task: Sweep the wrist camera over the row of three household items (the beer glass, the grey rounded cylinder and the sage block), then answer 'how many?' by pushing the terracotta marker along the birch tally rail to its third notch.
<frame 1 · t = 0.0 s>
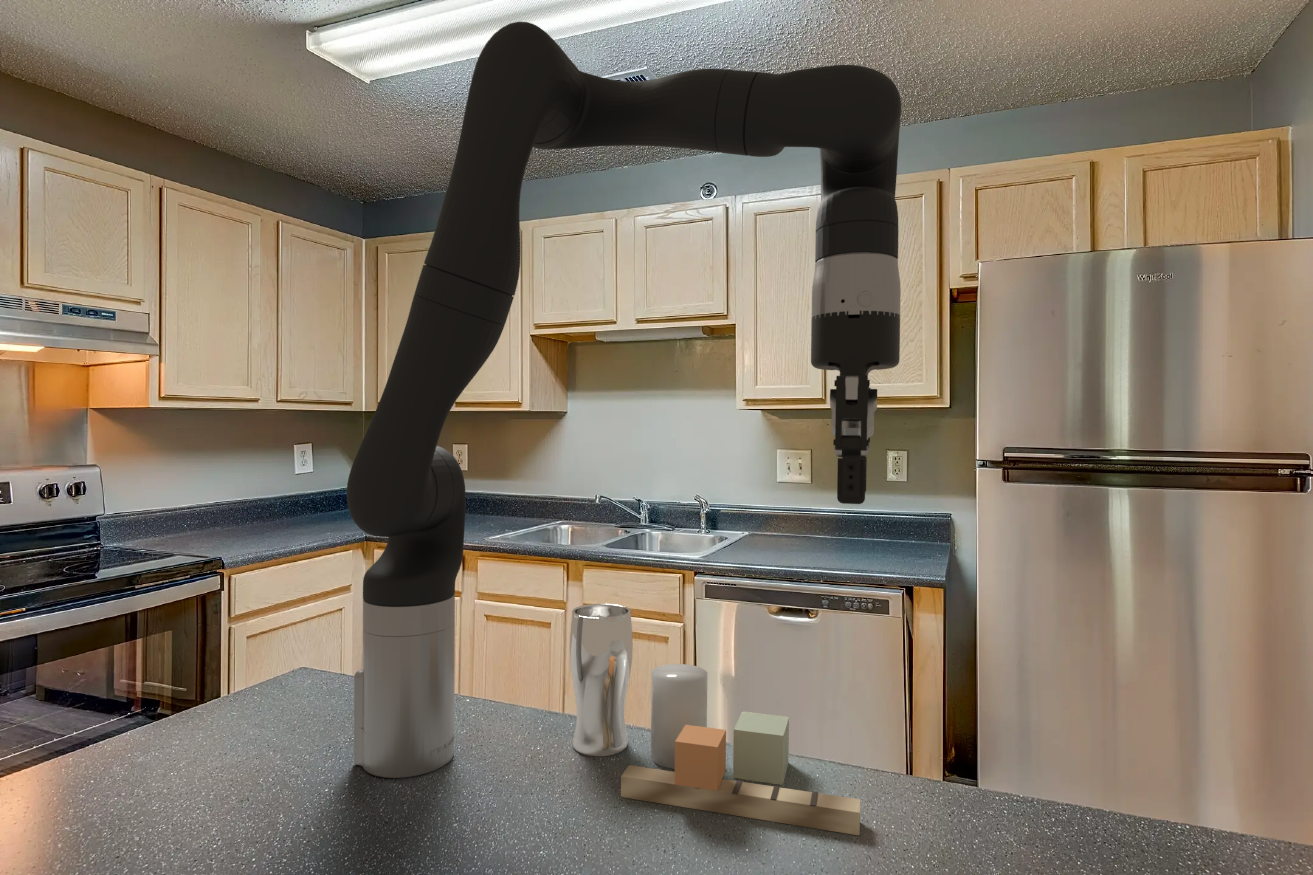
hand: (852, 498, 65), 29 cm above the countertop, fingers open, 8 cm apart
sage block: (761, 770, 76), on the countertop
tally rail: (737, 808, 69), on the countertop
grey rounded cylinder: (678, 755, 79), on the countertop
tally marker: (700, 756, 69), point 4 cm above the countertop, slide at 0.0 cm
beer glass: (600, 746, 82), on the countertop
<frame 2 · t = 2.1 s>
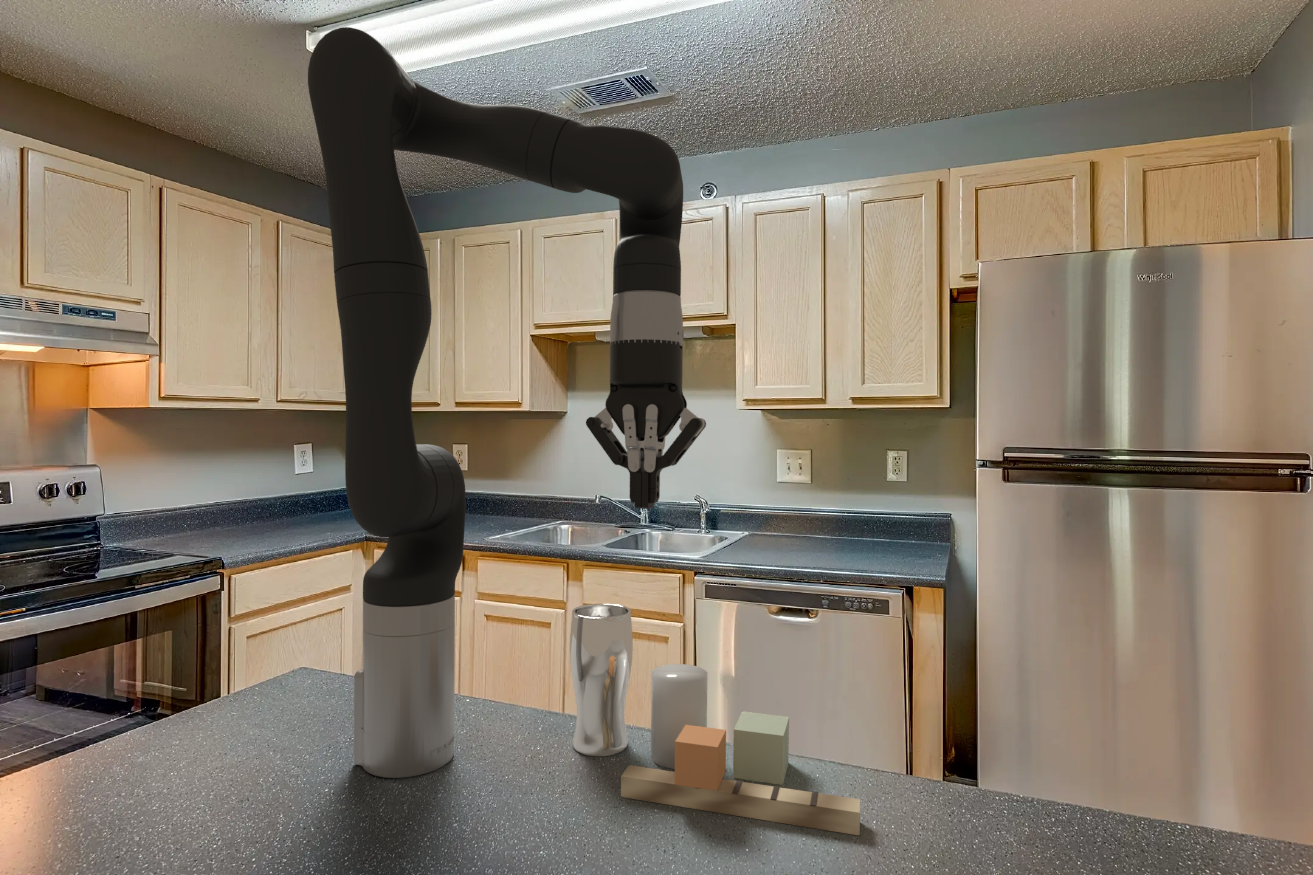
hand: (644, 507, 77), 27 cm above the countertop, fingers closed
nothing on the countertop moved.
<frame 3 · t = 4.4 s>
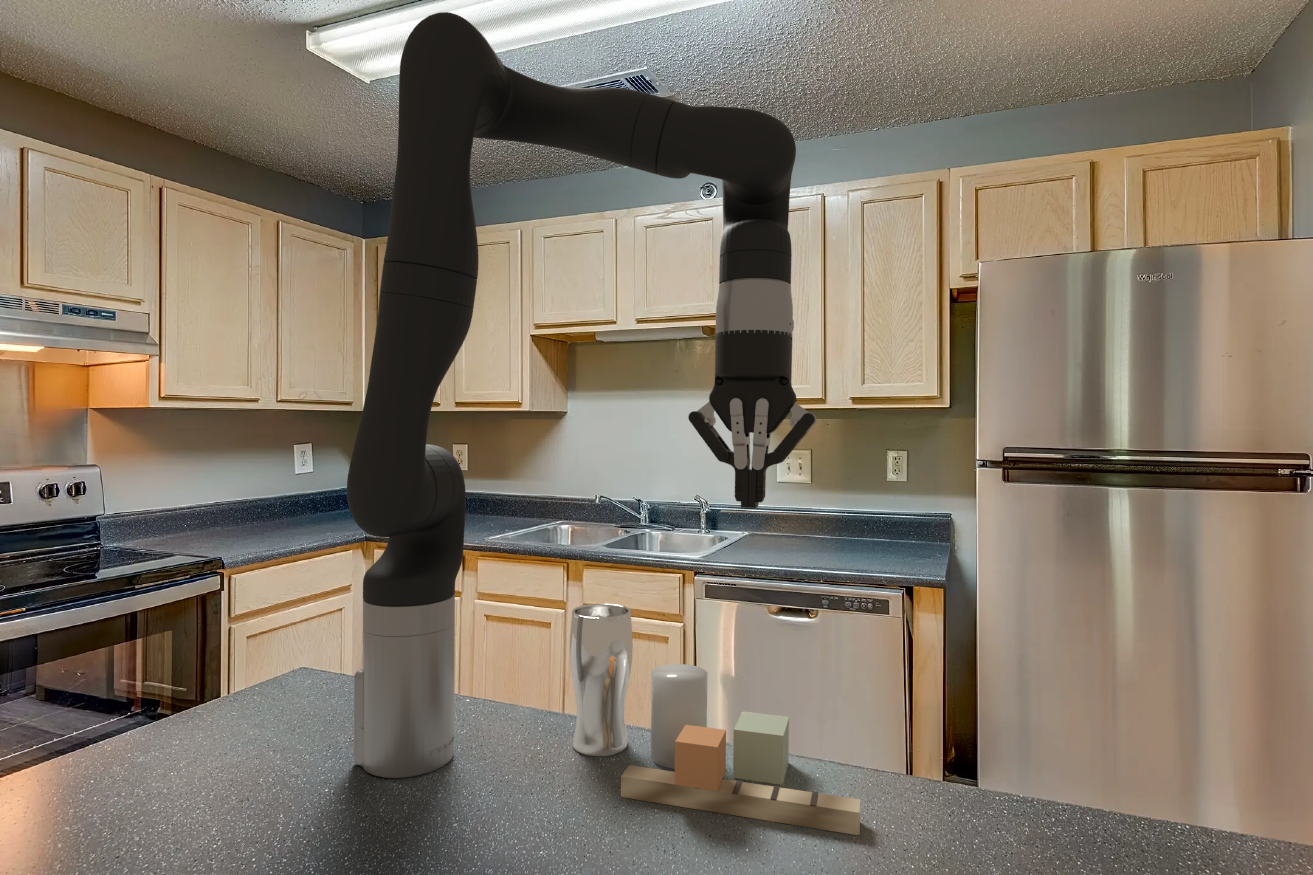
hand: (750, 507, 73), 28 cm above the countertop, fingers closed
nothing on the countertop moved.
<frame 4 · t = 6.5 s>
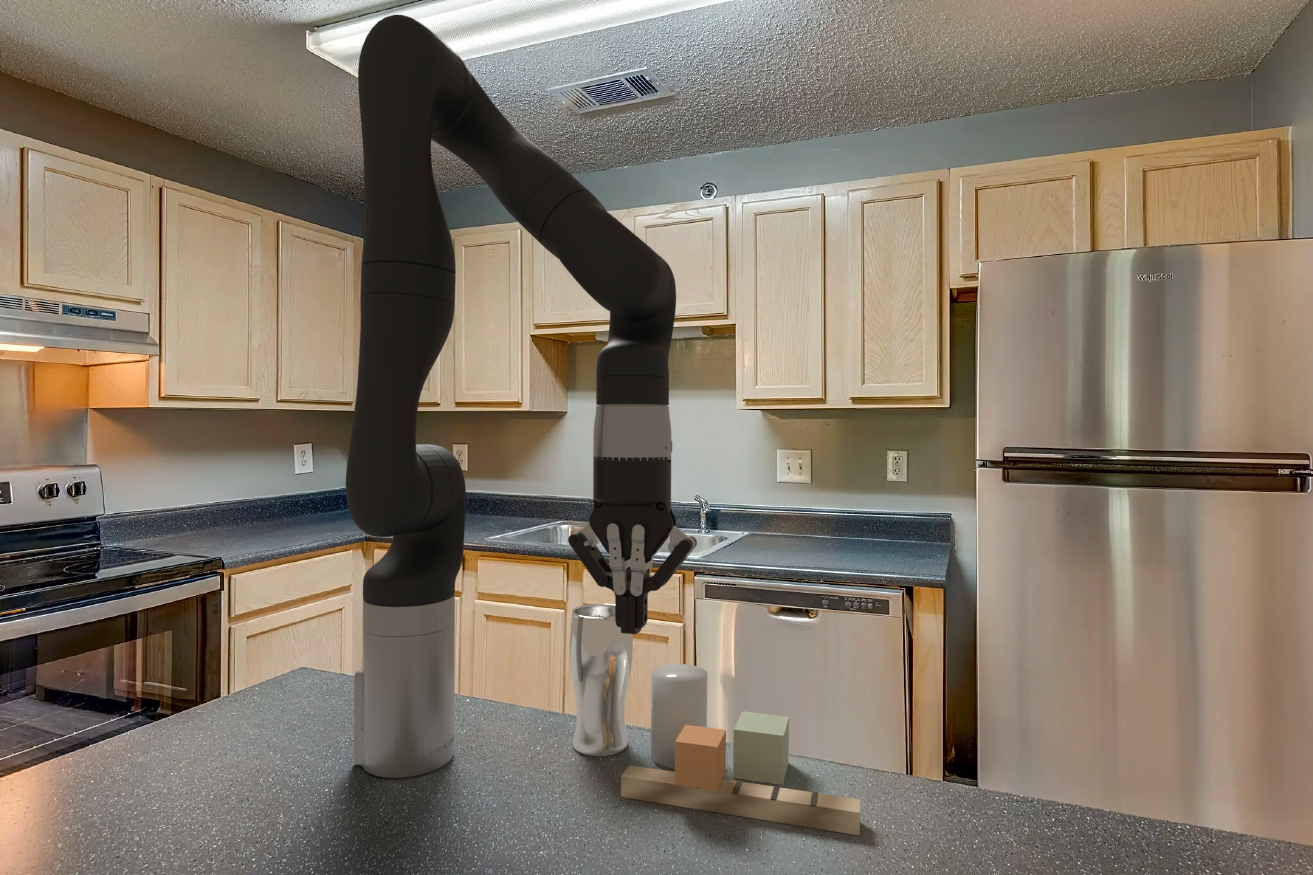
hand: (631, 631, 71), 16 cm above the countertop, fingers closed
nothing on the countertop moved.
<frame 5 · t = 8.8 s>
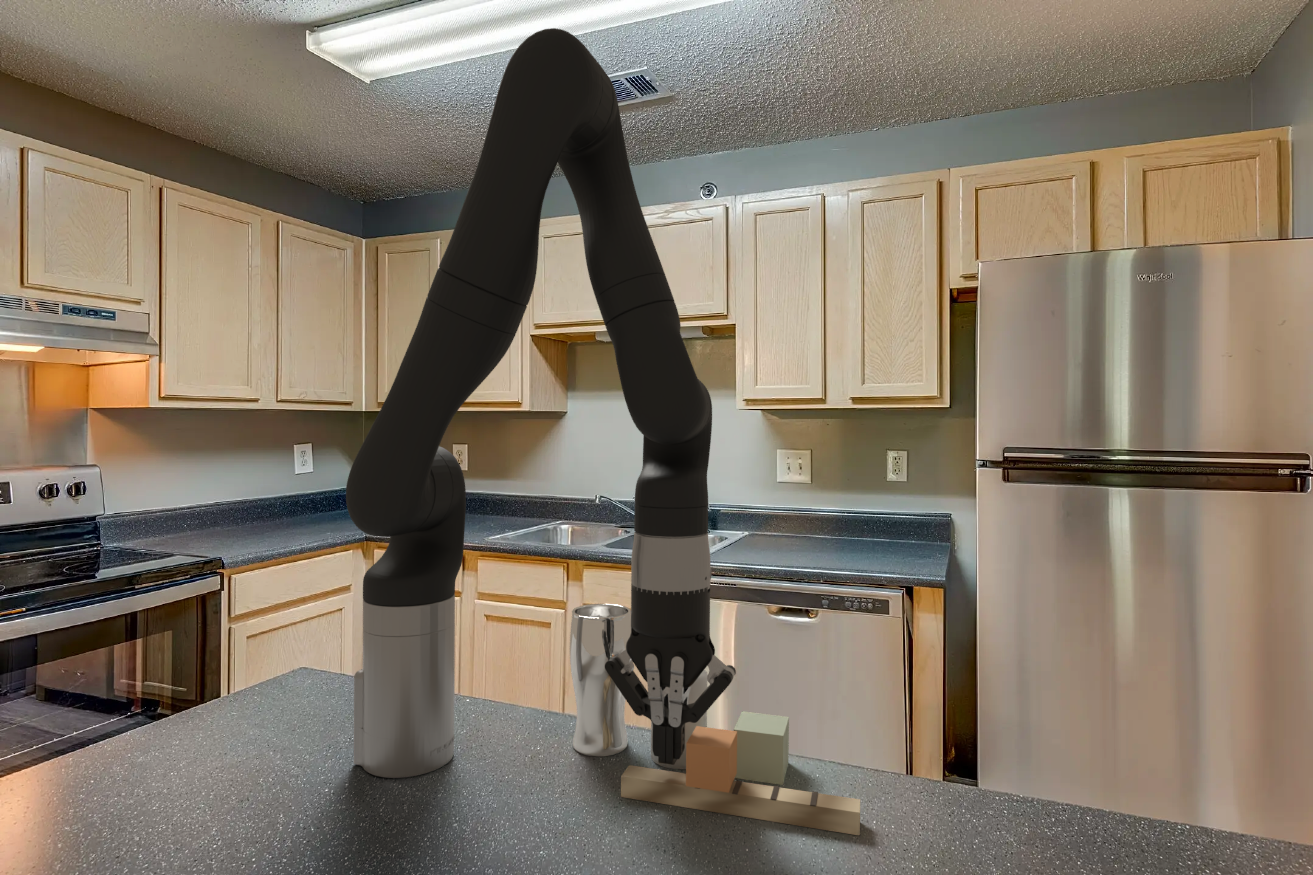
hand: (668, 760, 70), 4 cm above the countertop, fingers closed
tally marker: (712, 758, 69), point 4 cm above the countertop, slide at 1.1 cm, touching gripper
everything else where it was.
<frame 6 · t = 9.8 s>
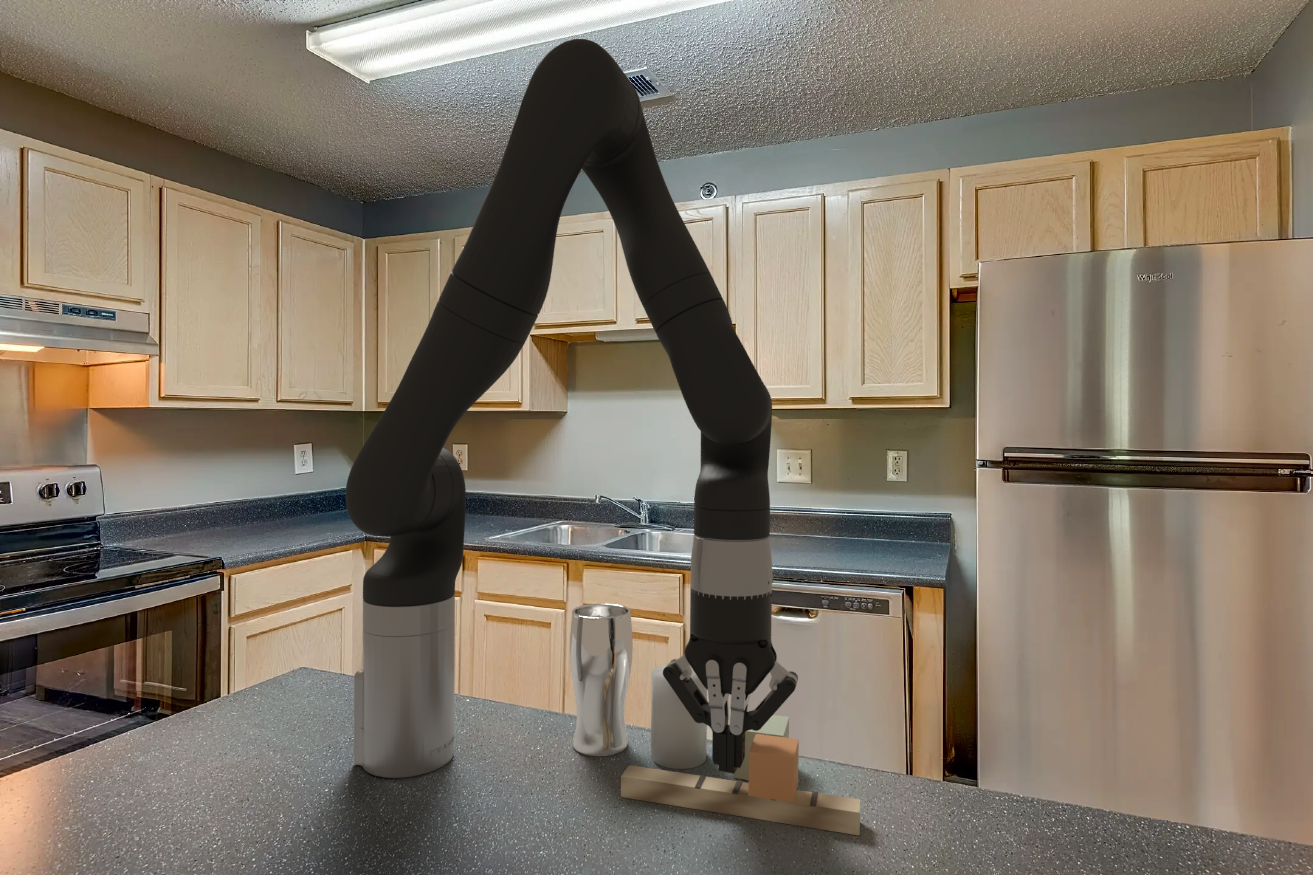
hand: (728, 768, 69), 4 cm above the countertop, fingers closed
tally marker: (774, 766, 67), point 4 cm above the countertop, slide at 6.9 cm, touching gripper
everything else where it was.
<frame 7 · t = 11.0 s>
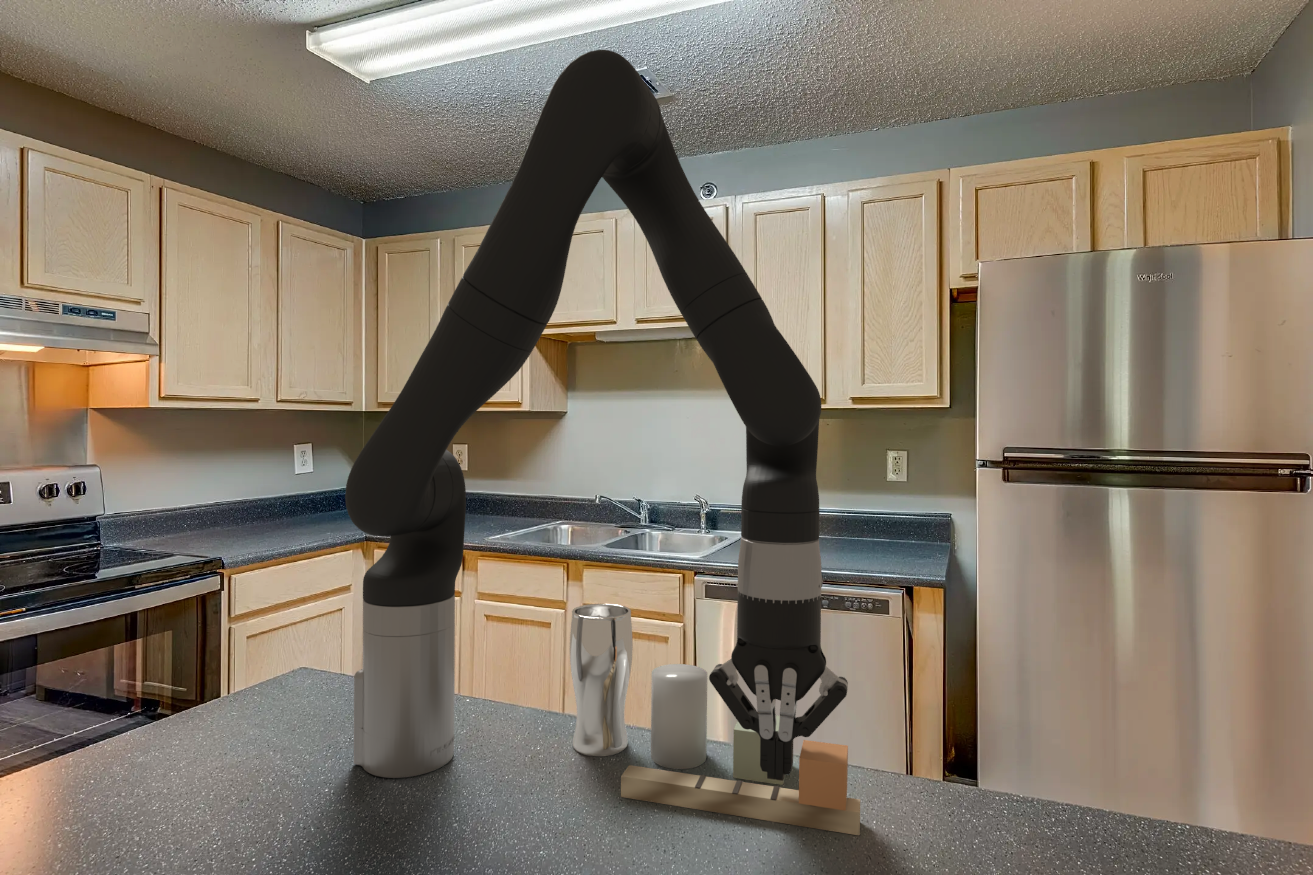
hand: (776, 775, 67), 4 cm above the countertop, fingers closed
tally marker: (823, 773, 66), point 4 cm above the countertop, slide at 11.3 cm, touching gripper
everything else where it was.
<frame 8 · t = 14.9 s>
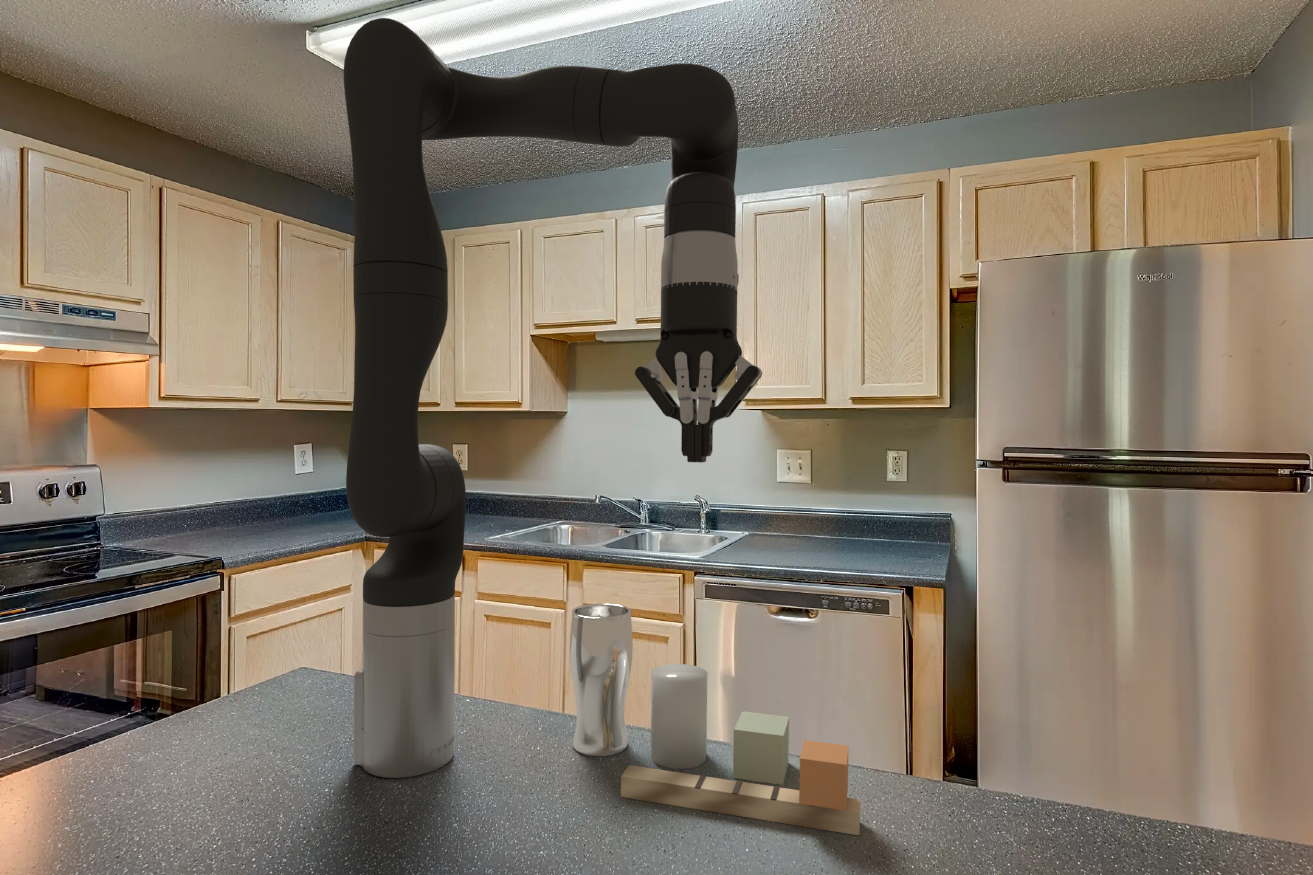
hand: (697, 461, 73), 32 cm above the countertop, fingers closed
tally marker: (824, 773, 66), point 4 cm above the countertop, slide at 11.4 cm
everything else where it was.
at the end: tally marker slide at 11.4 cm; grey rounded cylinder moved 0.0 cm from its start; sage block moved 0.1 cm from its start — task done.
